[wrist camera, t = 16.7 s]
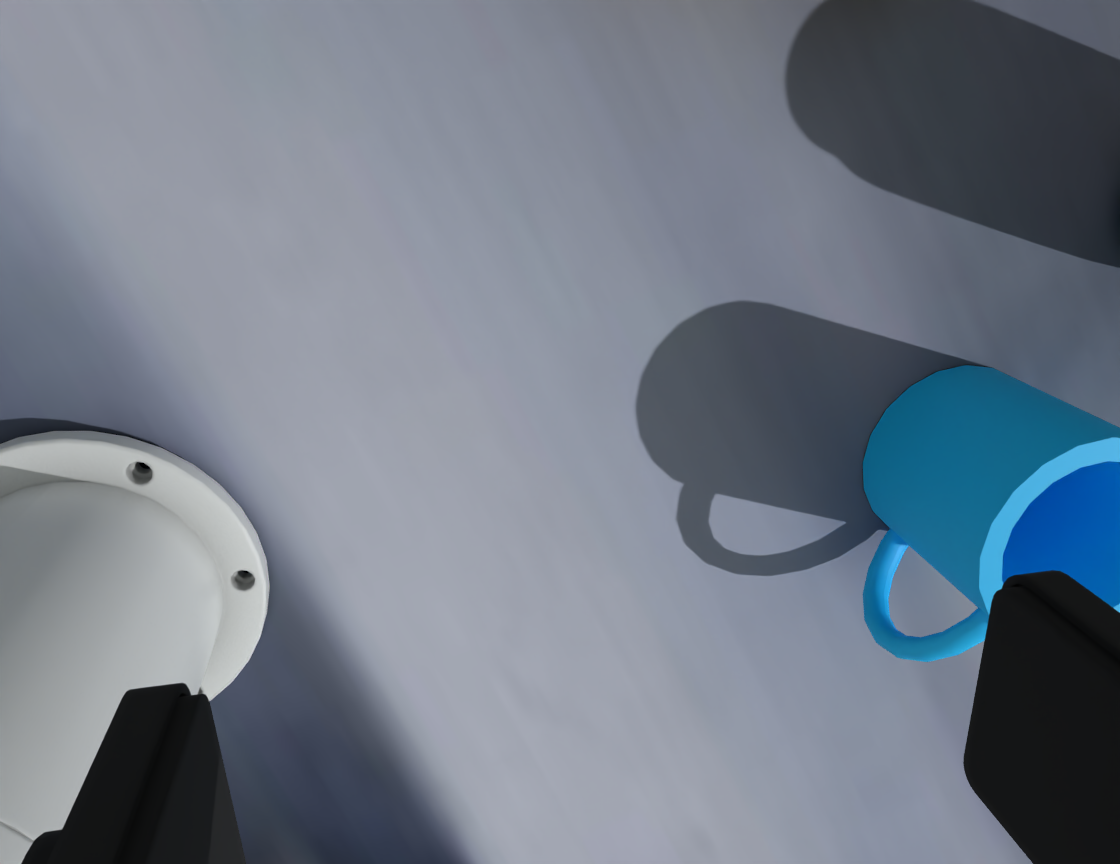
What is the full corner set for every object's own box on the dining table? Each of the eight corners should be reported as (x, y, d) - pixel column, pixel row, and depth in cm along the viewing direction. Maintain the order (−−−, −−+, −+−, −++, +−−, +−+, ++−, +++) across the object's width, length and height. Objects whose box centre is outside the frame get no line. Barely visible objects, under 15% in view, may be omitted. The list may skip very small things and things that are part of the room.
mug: (951, 328, 35) (1099, 392, 28) (1072, 426, 38) (1236, 508, 31) (769, 553, 38) (860, 667, 30) (895, 629, 41) (1006, 751, 33)
